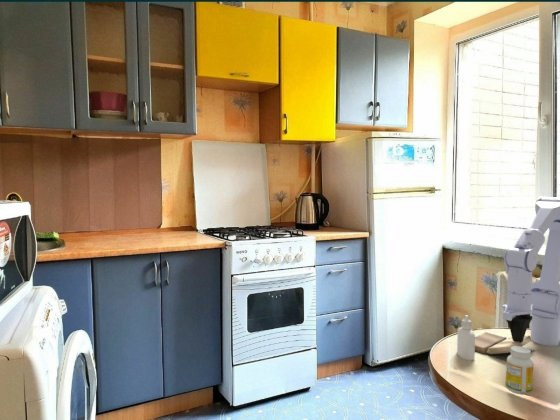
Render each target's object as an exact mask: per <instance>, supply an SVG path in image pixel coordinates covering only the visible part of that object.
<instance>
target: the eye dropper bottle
mask: <svg viewBox="0 0 560 420" xmlns="http://www.w3.org/2000/svg"><path fill="white" fill-rule="evenodd" d="M469 318H470V317H469V315H466V314H465V316H464V318H463V319H461V327H459V328H458V329H457V339H456V340H457V341H456V342H457V343H456V345H457V346H456V347H457V348H456V354H457V355H458V357H459V358H461V359H464V360H466V361H475V356H476V355H475V353H476V351H475V337H476V335H475V333H474V330H472V320H471V319H469Z"/></svg>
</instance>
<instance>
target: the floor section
mask: <svg viewBox="0 0 560 420" xmlns="http://www.w3.org/2000/svg"><path fill="white" fill-rule="evenodd" d="M506 339H508V338H507V337H506V336H501V335H497V334H494V333H491V332H486V331H485V332H484V333H482V334H479V335H477V336H475V353H478V354H479V353H480V354H482V355H485V356H488V357H492V358H494V357H495V359H499V360H501V361H504V362H507V357H508V356H510V355H511V352H508V353H497V354H490V353H487V352H486V351H487V350H488V348H490V347H492V346H494V345H496V344H498V343H500V342H502V341H504V340H506ZM526 348H527V349H529V350H530V351H531V354H533V353H535V352H536V350H535V349H531V348H528V347H526Z"/></svg>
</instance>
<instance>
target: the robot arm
mask: <svg viewBox="0 0 560 420" xmlns="http://www.w3.org/2000/svg"><path fill="white" fill-rule="evenodd" d="M534 208H535V209H534V210H535V217H534V220H533V222H532V224H531V225H530V228H526V229H525V230H523V231H522V233H521V235H520V236H519V238H518V239H517V241H516V243H515V244H514V246H513V247H510V248H508V249H507V250H506V251H505V253H504V257H503V264H504V266H505V274H506V275H507V286H506V287H507V288H506V291H507V292H506V294H507V295H506V304H503V305H502V306H501V307H502V309H505V310H504V311H503V312H502V320H504V321H506V322H507V324H508V327H509V330H510V335H511V338H512V339H513V341H516V342H518V341H519V342H520V343H521V342H523V339H524V336H526V332H527V329H528V327H529V325H530V337H531V339H532V341H531V342H534V343H536V344H539V345H544V346H549V347H551V346H552V347H554V346H559V345H560V197H559V196H557V197H556V196H555V197H554V196H553V197H551V196H539V197H538V198H537V200H536V202H535V205H534ZM547 230H548V236H547V242H546V237H545V233H546V232H547ZM545 242H546V247H545V251H544V256H543V262H542V267H541V272H540V275H539V276H540V277H539V279H538V280H537V281H534V282H532V281H533V271H534V270H535V268H537V265H538V264H537V263H538V259H539V251H540V250H541V249H542V247H543V245H544V243H545ZM530 314H531V315H530Z"/></svg>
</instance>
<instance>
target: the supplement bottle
mask: <svg viewBox="0 0 560 420" xmlns="http://www.w3.org/2000/svg"><path fill="white" fill-rule="evenodd" d="M527 348H528V347H524V346H522V347H520V346H512V347H511V355H510V356H509V355H508V357H507V356H506V357H507V360H506V366H505V367H506V373H505V385H506V386H505V387H506V389H507V390H508V391H509V392H512V393H514V394H517V395H521V396H523V395H526V396H527V395H528V394H527V393H529V392H531V391H533V379H534V377H533V376H534V361H533V360H532V359H531V355H532V353H531V349H530V348H528V349H527ZM529 349H530V350H529Z"/></svg>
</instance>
